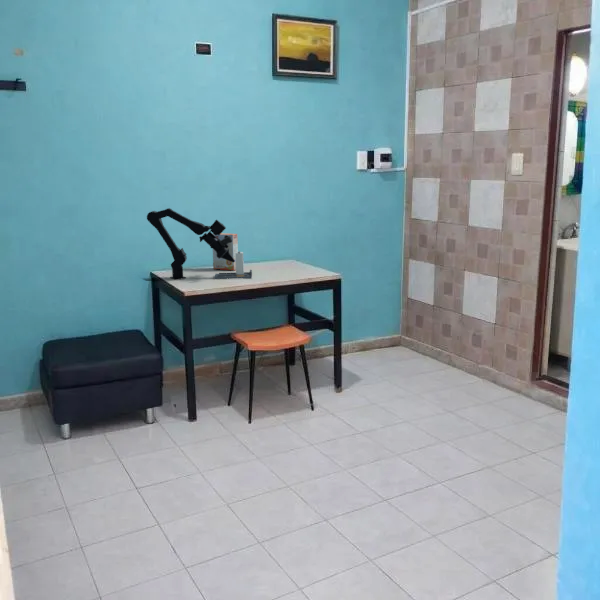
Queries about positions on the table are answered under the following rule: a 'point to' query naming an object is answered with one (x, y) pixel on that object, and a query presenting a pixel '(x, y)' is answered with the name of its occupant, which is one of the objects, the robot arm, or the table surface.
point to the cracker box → (233, 248)
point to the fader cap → (239, 263)
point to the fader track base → (233, 275)
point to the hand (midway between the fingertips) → (234, 261)
